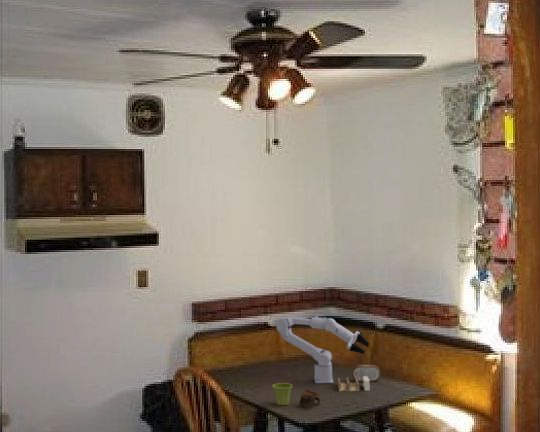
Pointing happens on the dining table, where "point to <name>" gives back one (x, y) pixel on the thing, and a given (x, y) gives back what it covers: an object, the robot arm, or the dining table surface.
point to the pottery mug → (310, 400)
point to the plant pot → (282, 393)
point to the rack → (348, 385)
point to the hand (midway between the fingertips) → (366, 348)
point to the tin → (366, 372)
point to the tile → (366, 383)
